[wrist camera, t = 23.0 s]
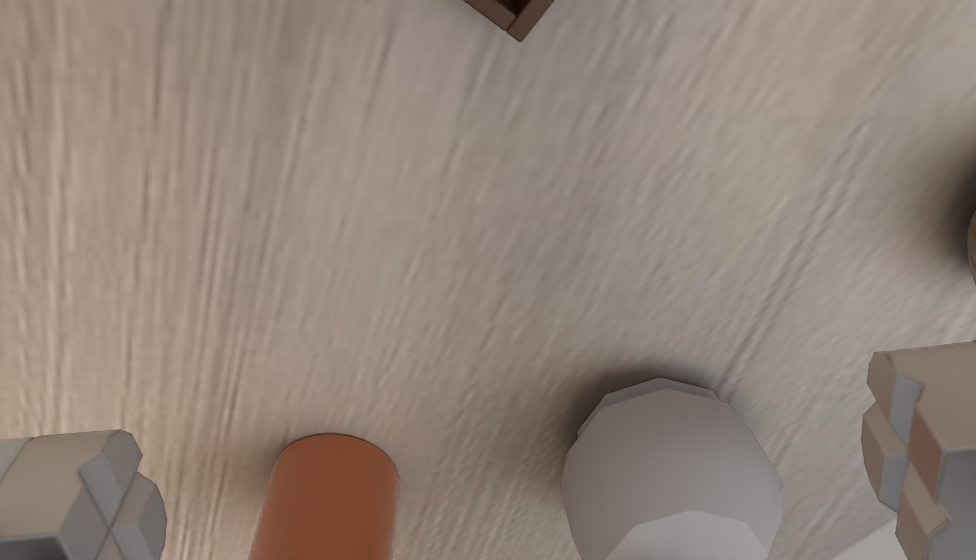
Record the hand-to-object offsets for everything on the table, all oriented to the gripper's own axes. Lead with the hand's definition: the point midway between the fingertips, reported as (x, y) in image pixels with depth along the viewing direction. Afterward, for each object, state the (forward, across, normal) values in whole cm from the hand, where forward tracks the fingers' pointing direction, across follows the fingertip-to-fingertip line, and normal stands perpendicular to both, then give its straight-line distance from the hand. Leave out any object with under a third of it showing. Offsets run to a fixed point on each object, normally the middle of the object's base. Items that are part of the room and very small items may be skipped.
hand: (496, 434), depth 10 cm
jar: (+22, +10, +22) cm, 32 cm away
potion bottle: (+22, -4, +21) cm, 31 cm away
